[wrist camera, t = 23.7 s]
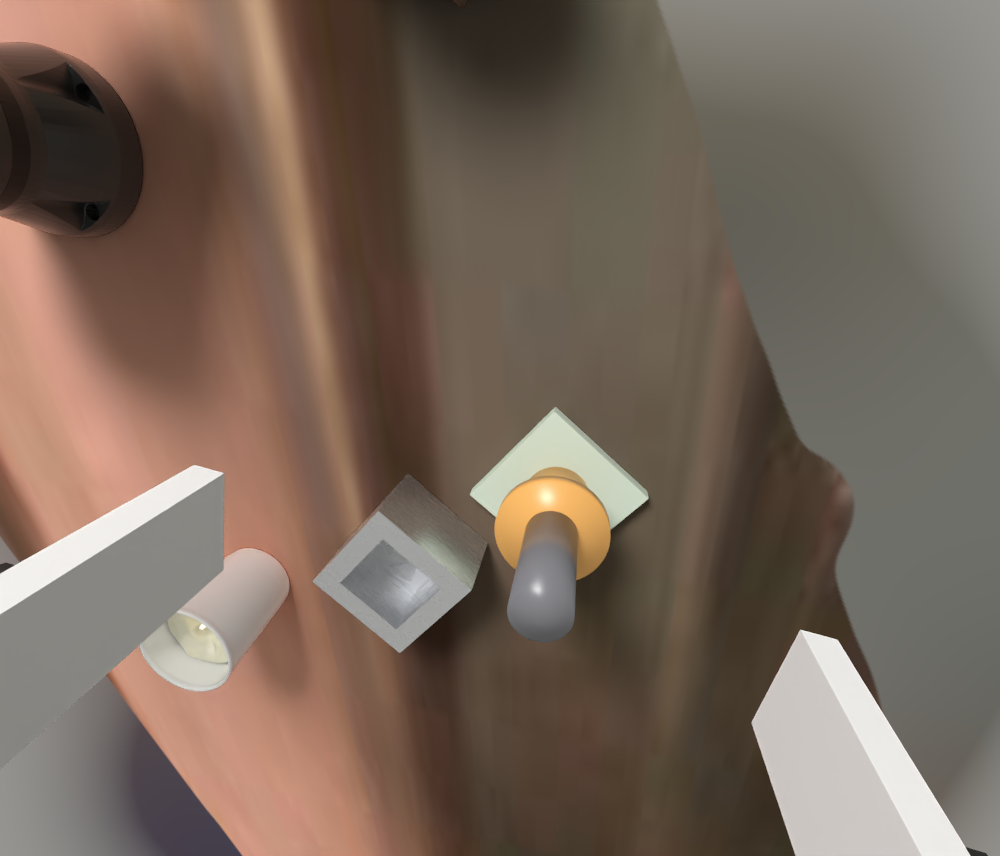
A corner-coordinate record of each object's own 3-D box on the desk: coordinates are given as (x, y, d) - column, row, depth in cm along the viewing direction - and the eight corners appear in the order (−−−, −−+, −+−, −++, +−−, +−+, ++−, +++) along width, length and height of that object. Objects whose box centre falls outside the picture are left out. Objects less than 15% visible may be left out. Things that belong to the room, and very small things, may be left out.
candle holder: (248, 525, 59) (168, 592, 48) (312, 584, 60) (249, 661, 49) (204, 571, 62) (119, 643, 51) (266, 625, 64) (196, 707, 52)
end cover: (486, 494, 51) (439, 608, 35) (555, 429, 47) (537, 522, 32) (557, 558, 52) (543, 695, 36) (630, 498, 48) (648, 621, 33)
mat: (473, 487, 53) (469, 494, 51) (555, 406, 48) (554, 411, 47) (559, 563, 54) (558, 572, 52) (647, 491, 50) (648, 498, 48)
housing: (348, 537, 57) (312, 581, 50) (408, 473, 53) (378, 510, 46) (424, 600, 58) (399, 653, 51) (488, 542, 54) (471, 590, 47)
